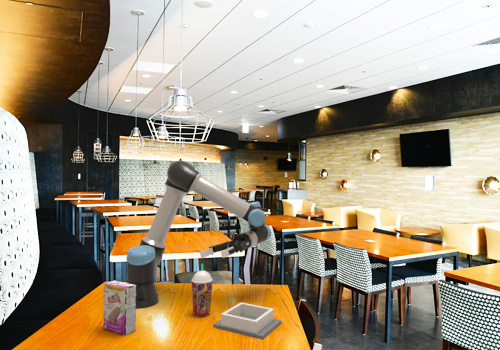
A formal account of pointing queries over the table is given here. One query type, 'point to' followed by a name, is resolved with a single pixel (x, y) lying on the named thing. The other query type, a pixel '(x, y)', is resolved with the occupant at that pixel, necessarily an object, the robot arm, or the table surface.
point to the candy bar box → (119, 307)
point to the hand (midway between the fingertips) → (211, 254)
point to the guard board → (248, 320)
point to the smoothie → (201, 293)
